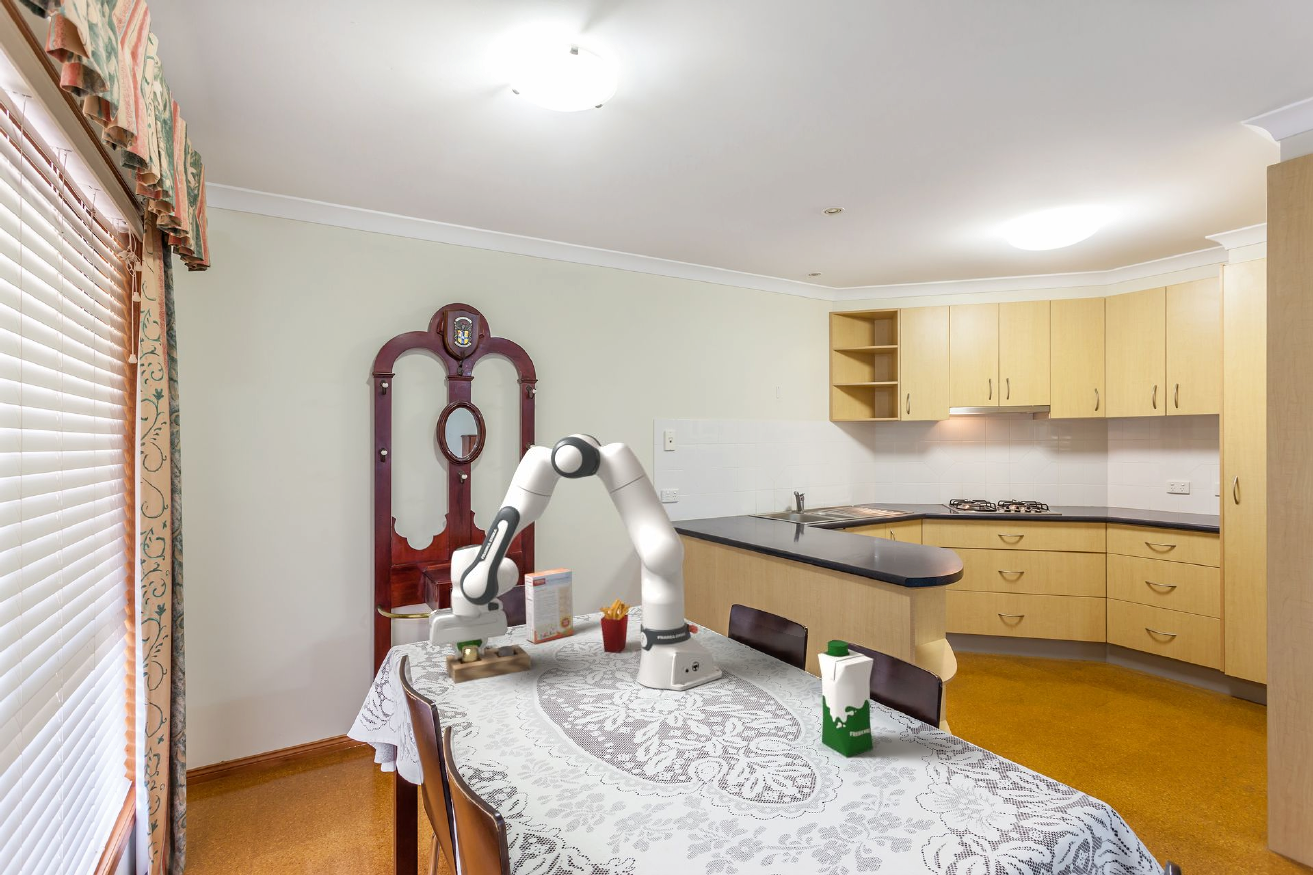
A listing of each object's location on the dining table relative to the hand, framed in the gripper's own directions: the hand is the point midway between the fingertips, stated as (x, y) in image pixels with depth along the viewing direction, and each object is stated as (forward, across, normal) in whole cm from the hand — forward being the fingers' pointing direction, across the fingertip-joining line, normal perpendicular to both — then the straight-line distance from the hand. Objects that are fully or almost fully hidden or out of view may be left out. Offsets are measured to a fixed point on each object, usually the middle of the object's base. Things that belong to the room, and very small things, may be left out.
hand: (469, 656), depth 178 cm
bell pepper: (+5, +4, +17) cm, 18 cm away
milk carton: (+5, +57, -82) cm, 100 cm away
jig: (+4, +5, 0) cm, 7 cm away
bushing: (+5, 0, 0) cm, 5 cm away
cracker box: (+5, +29, +19) cm, 35 cm away
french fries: (+5, +43, -3) cm, 43 cm away
